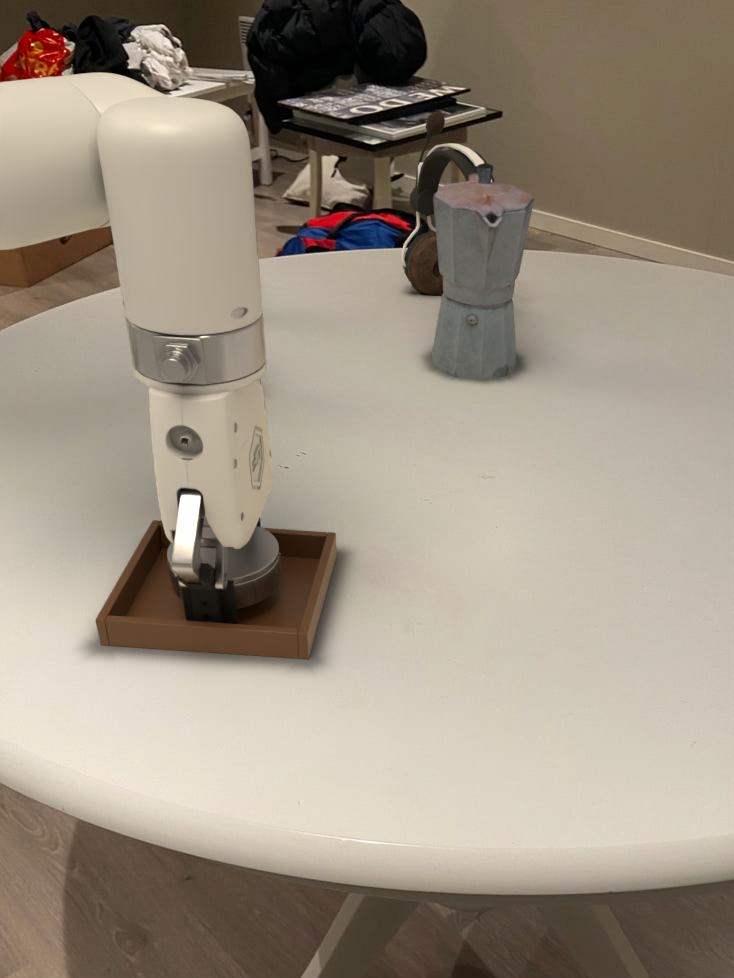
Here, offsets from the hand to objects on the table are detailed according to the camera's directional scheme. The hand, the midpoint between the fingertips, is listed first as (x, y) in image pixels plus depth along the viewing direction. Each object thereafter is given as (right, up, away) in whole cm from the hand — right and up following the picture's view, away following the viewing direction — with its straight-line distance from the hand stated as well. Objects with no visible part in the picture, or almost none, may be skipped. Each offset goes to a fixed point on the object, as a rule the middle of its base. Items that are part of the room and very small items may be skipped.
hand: (227, 595), depth 67 cm
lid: (0, +3, -2) cm, 3 cm away
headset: (+14, +37, +51) cm, 64 cm away
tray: (0, -1, 0) cm, 1 cm away
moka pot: (+16, +26, +37) cm, 47 cm away
